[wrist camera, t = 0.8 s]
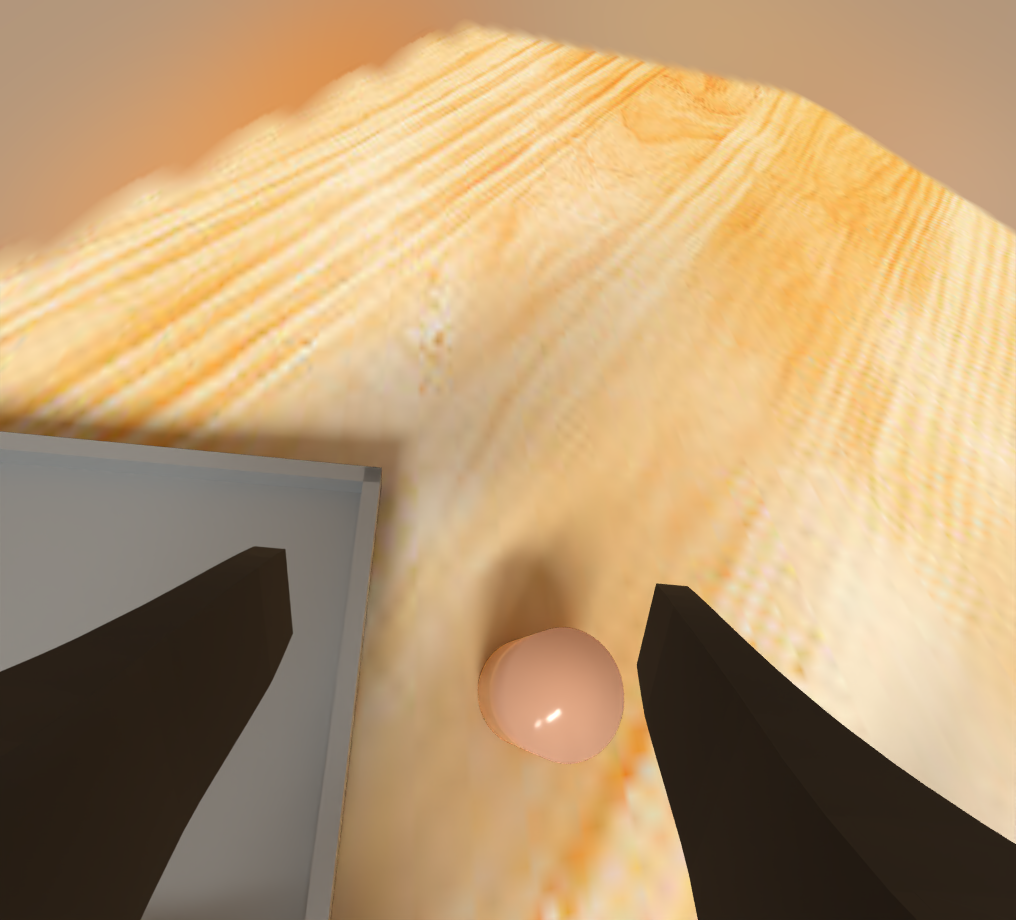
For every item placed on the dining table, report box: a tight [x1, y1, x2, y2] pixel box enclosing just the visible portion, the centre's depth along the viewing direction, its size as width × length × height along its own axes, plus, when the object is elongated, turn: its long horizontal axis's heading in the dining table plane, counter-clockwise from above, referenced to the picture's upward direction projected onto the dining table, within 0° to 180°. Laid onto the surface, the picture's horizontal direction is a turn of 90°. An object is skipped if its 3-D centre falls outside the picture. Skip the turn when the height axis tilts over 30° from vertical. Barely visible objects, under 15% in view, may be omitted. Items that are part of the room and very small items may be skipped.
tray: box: [0, 431, 382, 920], centre depth 20 cm, size 20×20×2 cm
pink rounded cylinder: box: [478, 627, 624, 764], centre depth 23 cm, size 5×5×6 cm
